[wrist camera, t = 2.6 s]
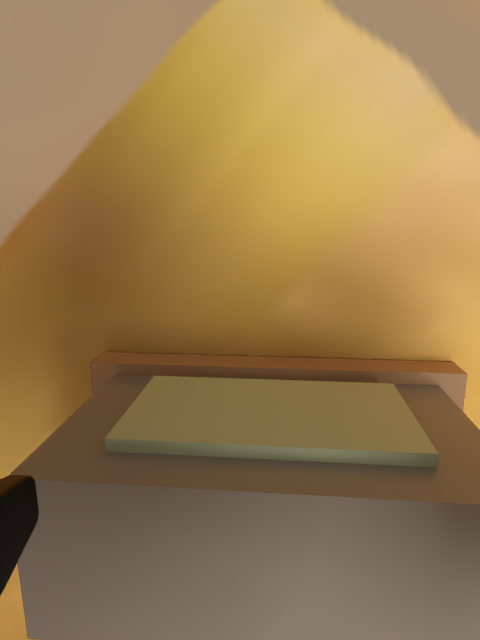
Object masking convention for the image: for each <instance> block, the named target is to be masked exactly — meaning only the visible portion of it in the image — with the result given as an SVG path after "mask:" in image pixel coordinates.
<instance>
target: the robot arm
mask: <svg viewBox="0 0 480 640" xmlns="http://www.w3.org/2000/svg"><path fill="white" fill-rule="evenodd" d="M38 517H39V508H38V499H37V491H36V483H35V480H34V478H33V477H32V476H30V475H15V474H14V475H9V476H7V477H5V478H2V479H0V595H1V594H2V592H3V590H4V588H5V586H6V584H7V582H8V580H9V578H10V576H11V574H12V572H13V570H14V568H15V566H16V564H17V562H18V560H19V558H20V556H21V554H22V552H23V550H24V548H25V546H26V544H27V542H28V540H29V538H30V536H31V534H32V532H33V530H34V528H35V526H36V524H37V521H38Z"/></svg>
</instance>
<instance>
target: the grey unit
mask: <svg viewBox="0 0 480 640" xmlns="http://www.w3.org/2000/svg"><path fill="white" fill-rule="evenodd" d="M90 364H91V376H92V388H93V396H92V397H91V398H90V399H89V400H88V401H86V402H85V403H84V404H83V405H82V406H81V407H80V408H79V409H78V410H77V411H76V412H75V413H74V414H73V415H72V416H71V417H70V418H69V419H68V420H67V421H65V422H64V423H63V424H62V425H61V426H60V427H59V428H58V429H57V430H56V431H55V432H54V433H53V434H52V435H51V436H50V437H49V438H48V439H47V440H46V441H44V442H43V443H42V444H41V445H40V446H39V447H38V448H37V449H36V450H35V451H34V452H33V453H32V454H31V455H30V456H29V457H28V458H27V459H26V460H25V461H23V462H22V463H21V464H20V465H19V466H18V467H17V468H16V469H15V470H14V471H13V472H12V473H11V474H10V475H14V474H15V475H30V476H32V477H33V478H34V480H35V483H36V491H37V499H38V508H39V517H38V521H37V524H36V526H35V528H34V530H33V532H32V534H31V536H30V538H29V540H28V542H27V544H26V546H25V548H24V550H23V552H22V554H21V556H20V558H19V560H18V570H19V577H20V584H21V592H22V599H23V607H24V614H25V621H26V629H27V636H28V638H30V639H41V640H480V430H479V429H478V428H477V427H476V426H475V424H474V423H473V422H472V421H471V420H470V419H469V418H468V417H467V416H466V415H465V413H464V412H463V405H464V397H465V389H466V381H467V373H465V372H464V371H463V370H462V369H461V368H460V367H459V366H457V365H456V364H455V363H454V362H448V361H412V360H377V359H341V358H306V357H270V356H235V355H199V354H164V353H128V352H104V353H102V354H101V355H100V356H98V357H97V358H96V359H94V360H93V361H92V362H91V363H90Z"/></svg>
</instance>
